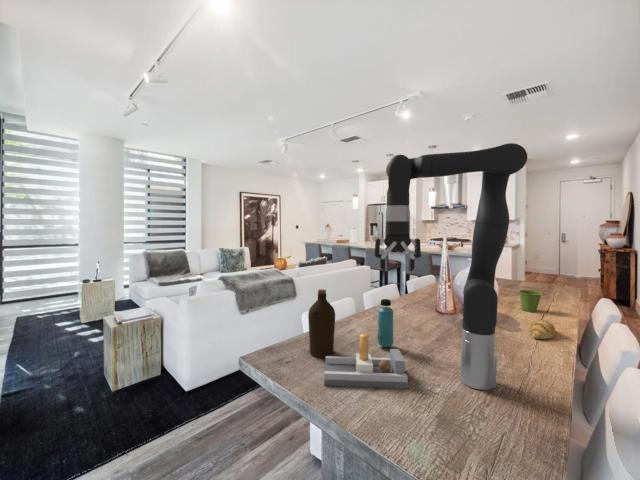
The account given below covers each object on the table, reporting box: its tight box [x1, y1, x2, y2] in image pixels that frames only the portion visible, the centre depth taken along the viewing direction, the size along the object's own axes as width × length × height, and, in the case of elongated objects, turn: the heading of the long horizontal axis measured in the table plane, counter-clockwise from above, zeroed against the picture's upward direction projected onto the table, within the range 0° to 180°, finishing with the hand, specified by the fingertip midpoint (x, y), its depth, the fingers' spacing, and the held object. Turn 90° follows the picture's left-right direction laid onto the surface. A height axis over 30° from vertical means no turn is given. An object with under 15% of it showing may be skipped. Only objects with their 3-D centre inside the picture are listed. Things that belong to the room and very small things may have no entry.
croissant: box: [528, 319, 556, 340], centre depth 138 cm, size 21×10×8 cm, turn 131°
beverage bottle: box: [377, 298, 395, 348], centre depth 123 cm, size 6×7×20 cm
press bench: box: [323, 348, 409, 389], centre depth 100 cm, size 26×14×8 cm, turn 87°
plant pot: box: [518, 289, 543, 313], centre depth 177 cm, size 12×12×11 cm
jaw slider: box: [355, 333, 373, 373], centre depth 99 cm, size 5×9×12 cm, turn 177°
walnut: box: [379, 360, 391, 373], centre depth 99 cm, size 4×4×4 cm
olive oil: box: [307, 288, 336, 358], centre depth 117 cm, size 11×11×25 cm
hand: (396, 270), depth 95 cm, fingers open, 8 cm apart
